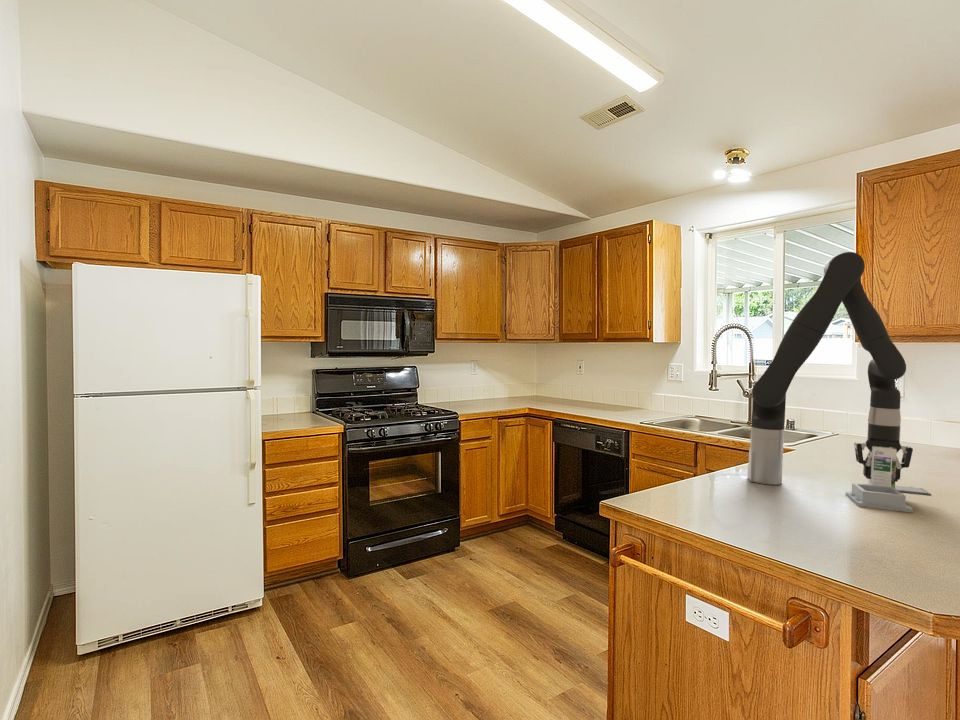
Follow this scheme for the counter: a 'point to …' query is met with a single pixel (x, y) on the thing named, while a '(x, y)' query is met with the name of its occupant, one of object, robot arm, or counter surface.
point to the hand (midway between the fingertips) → (881, 479)
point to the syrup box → (883, 466)
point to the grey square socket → (878, 497)
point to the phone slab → (912, 490)
